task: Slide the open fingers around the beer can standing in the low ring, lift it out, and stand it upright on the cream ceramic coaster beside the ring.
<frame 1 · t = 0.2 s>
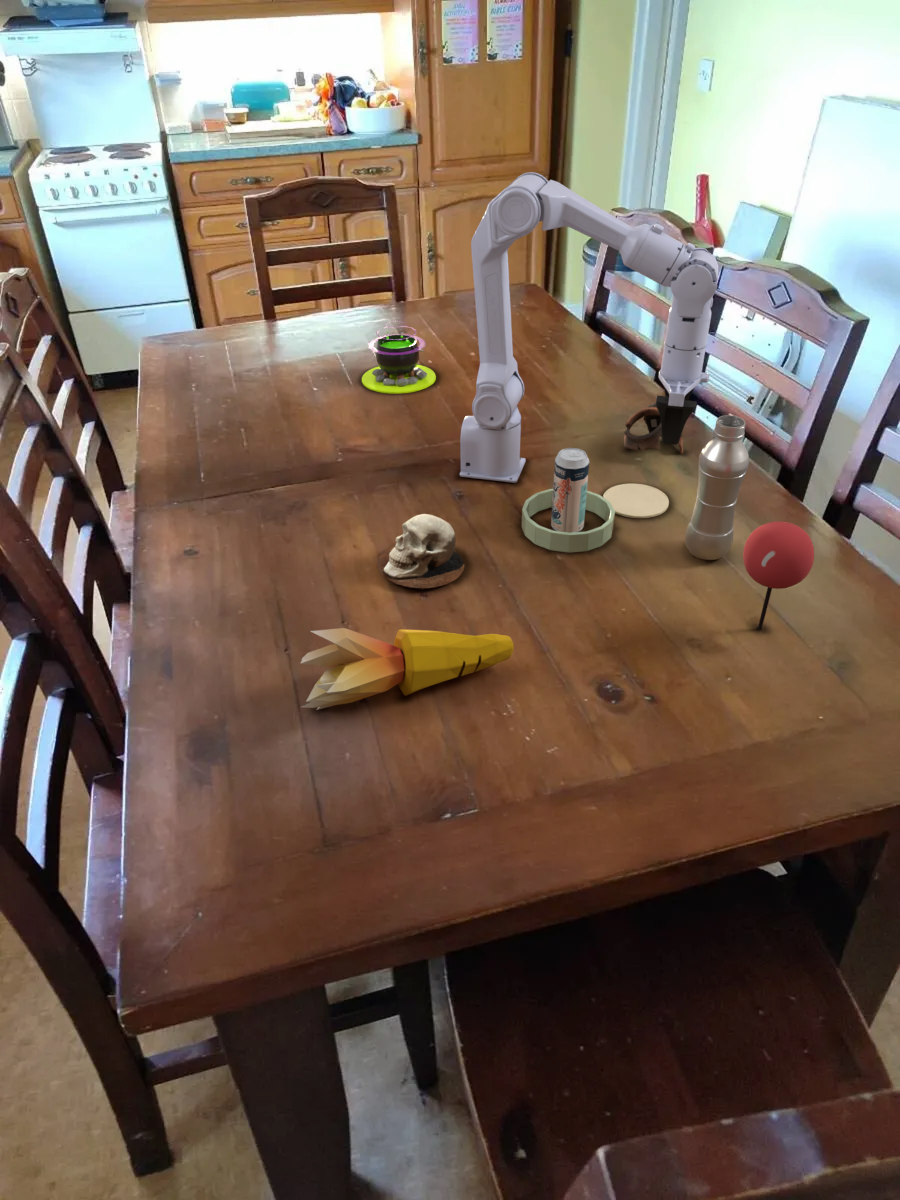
hand: (671, 432, 129), 10 cm above the table, tool pointing down, fingers open, 7 cm apart
skull: (421, 568, 119), on the table
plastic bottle: (705, 554, 120), on the table
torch: (409, 689, 99), on the table
beer can: (567, 528, 127), resting in ring
lollipop: (758, 630, 107), on the table
toy cauldron: (398, 379, 173), on the table
coaster: (635, 501, 132), on the table
ring: (567, 527, 126), on the table
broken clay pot: (652, 448, 147), on the table
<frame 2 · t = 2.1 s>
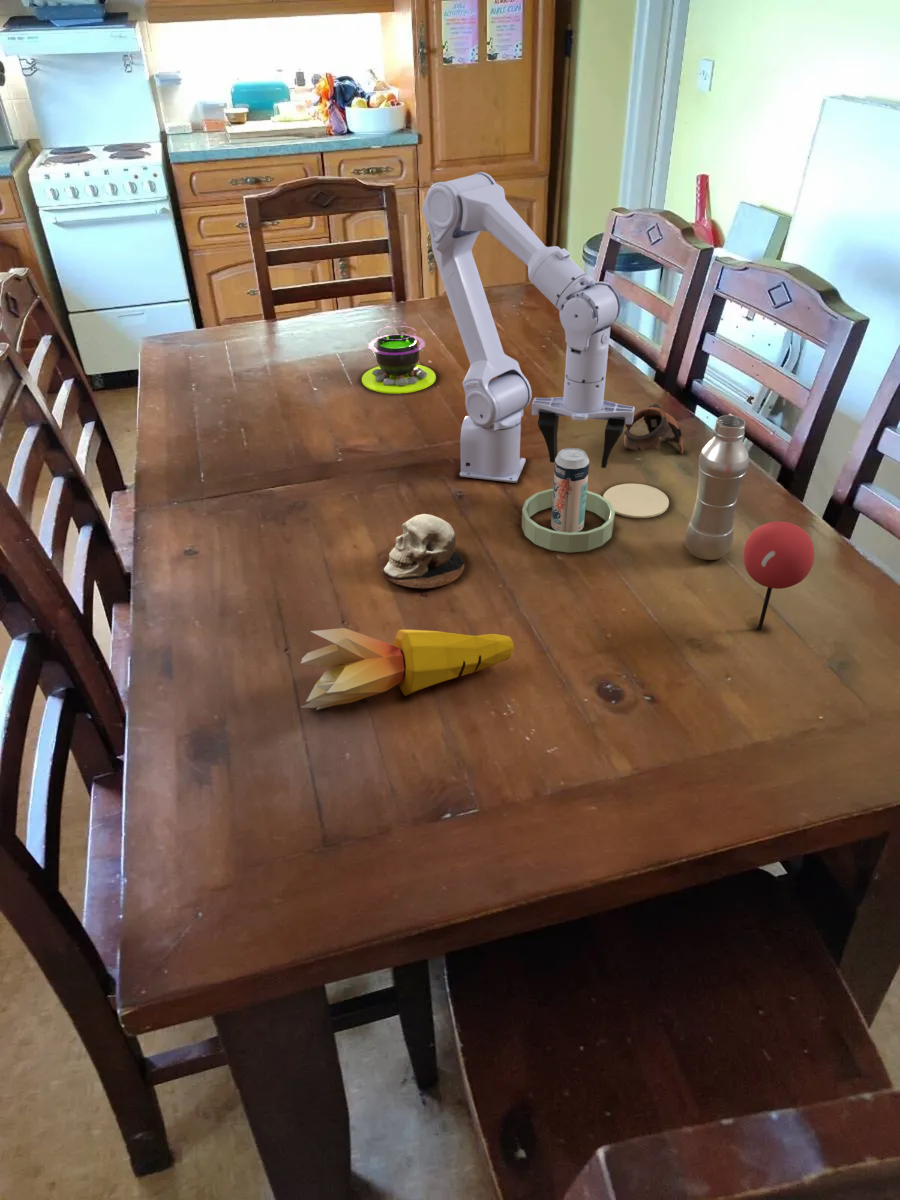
hand: (578, 462, 128), 7 cm above the table, tool pointing down, fingers open, 7 cm apart
nothing on the table moved.
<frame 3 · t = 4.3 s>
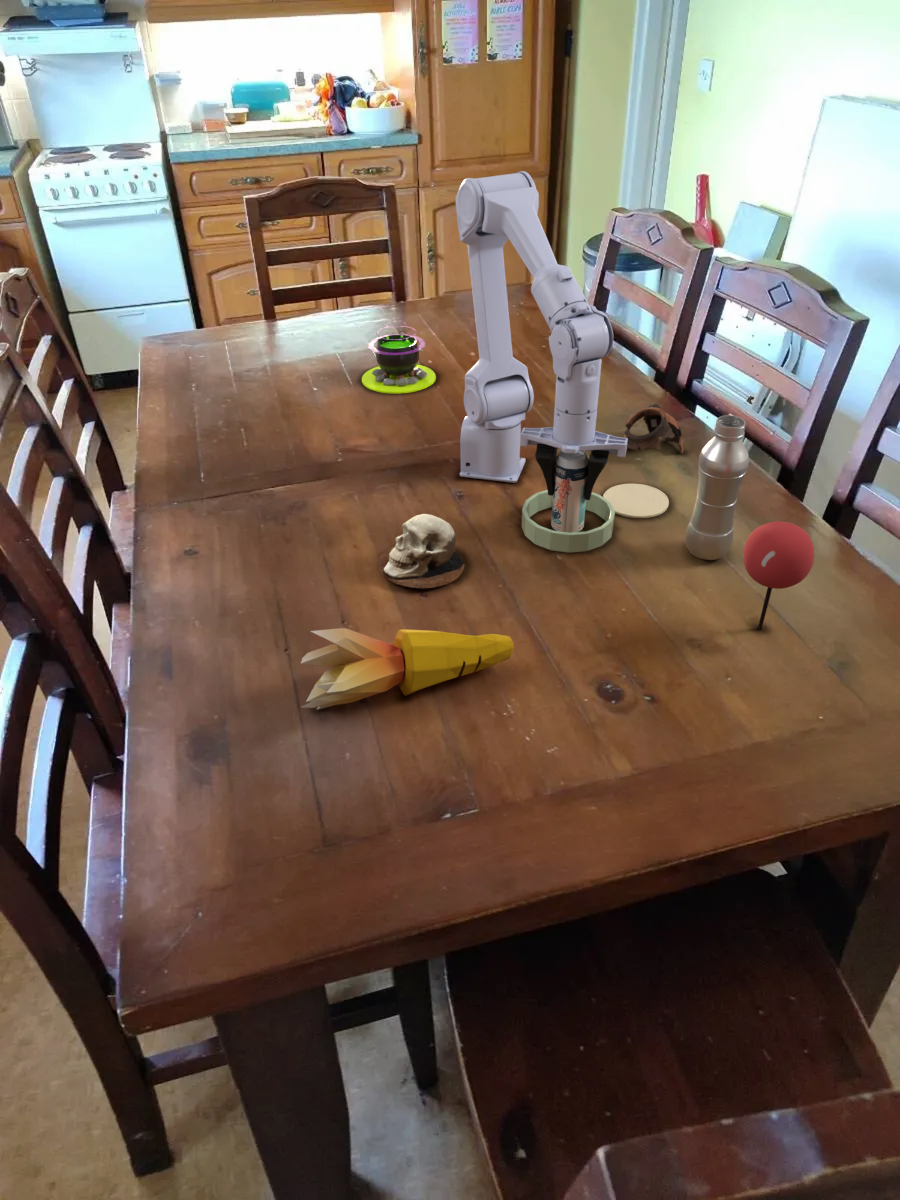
hand: (569, 494, 123), 6 cm above the table, tool pointing down, fingers closed on beer can, 5 cm apart
beer can: (567, 528, 127), resting in ring, touching gripper
everything else where it was.
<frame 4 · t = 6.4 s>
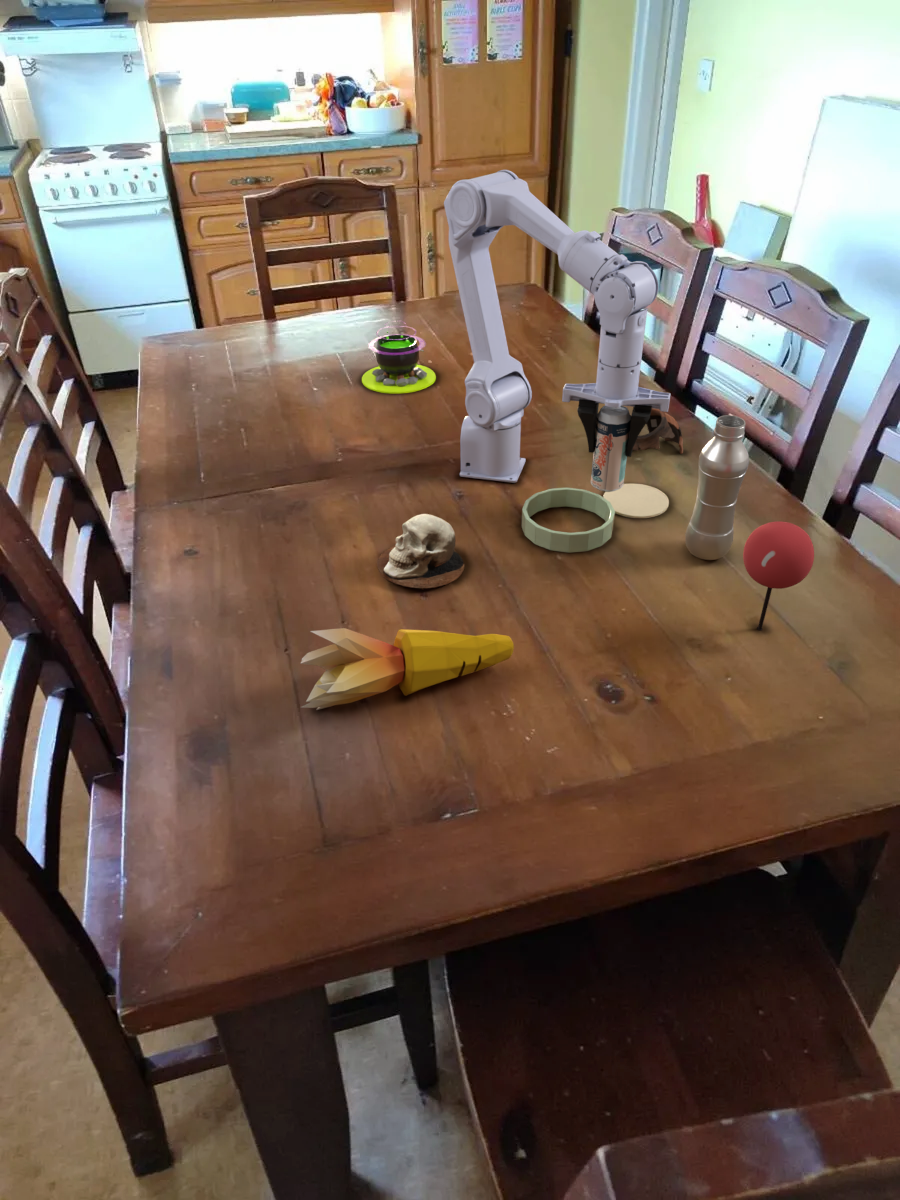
hand: (610, 451, 123), 10 cm above the table, tool pointing down, fingers closed on beer can, 5 cm apart
beer can: (606, 487, 127), point 5 cm above the table, touching gripper
everything else where it was.
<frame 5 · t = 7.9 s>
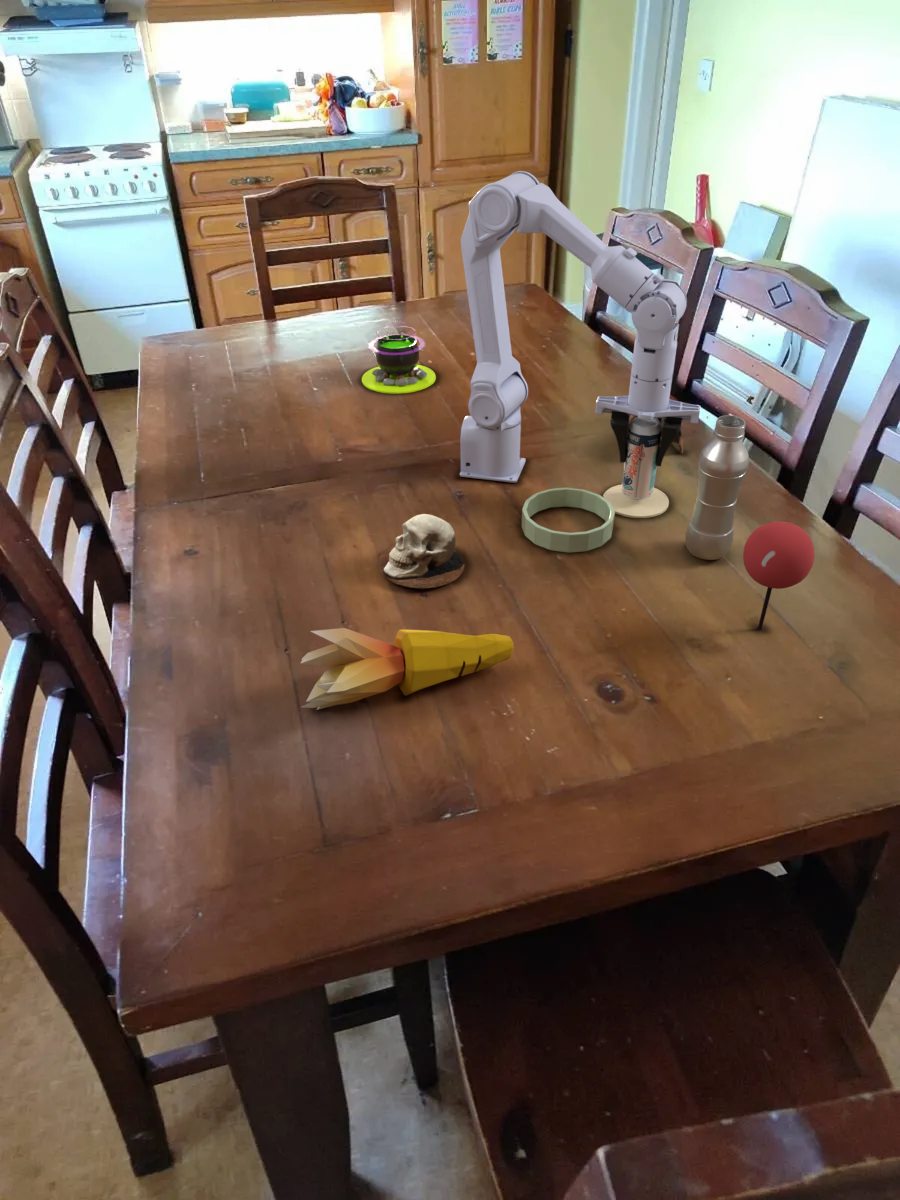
hand: (640, 461, 128), 7 cm above the table, tool pointing down, fingers closed on beer can, 5 cm apart
beer can: (636, 495, 131), point 1 cm above the table, touching gripper
everything else where it was.
when the fingers open (6 cm above the table, at t = 8.7 s): beer can stays where it is, resting on coaster.
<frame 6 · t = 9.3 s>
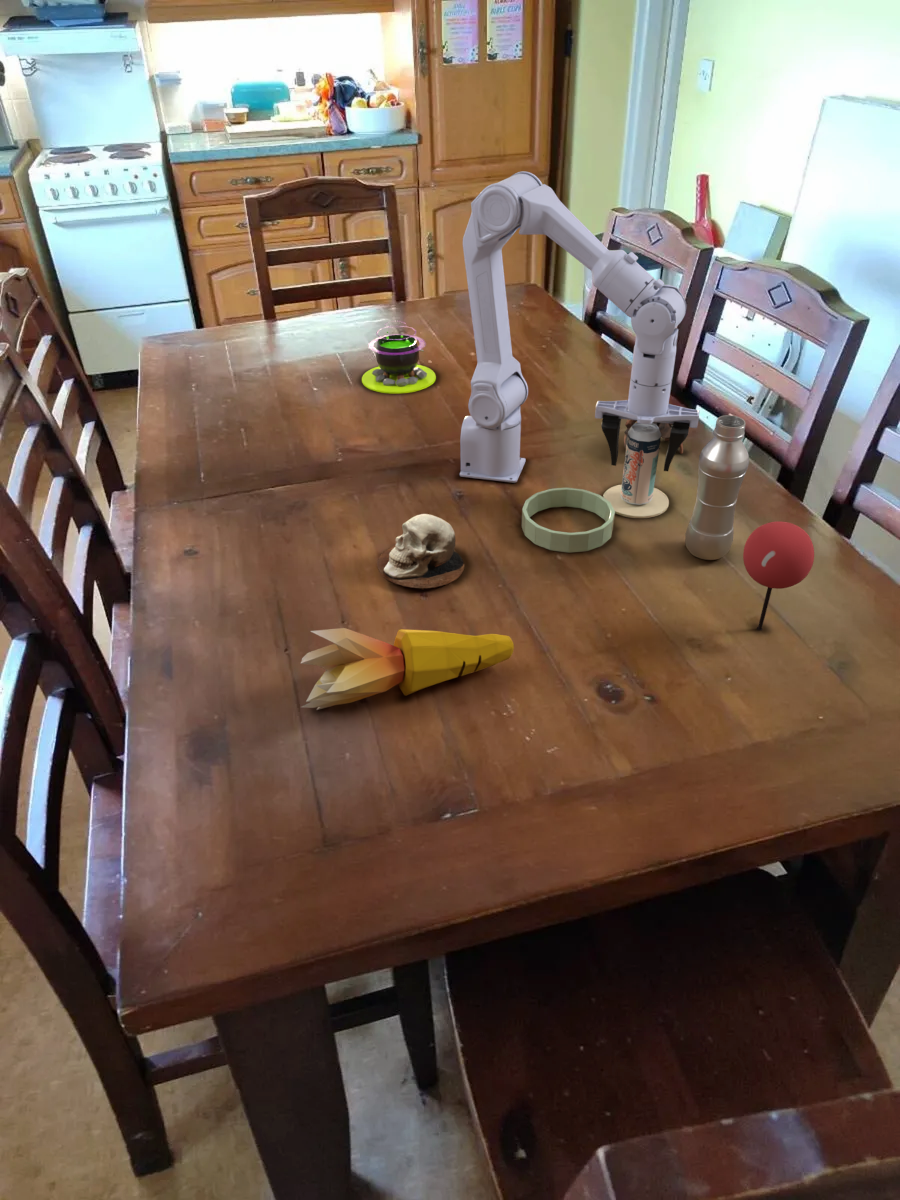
hand: (640, 465, 128), 6 cm above the table, tool pointing down, fingers open, 7 cm apart
beer can: (635, 500, 132), resting on coaster
everything else where it was.
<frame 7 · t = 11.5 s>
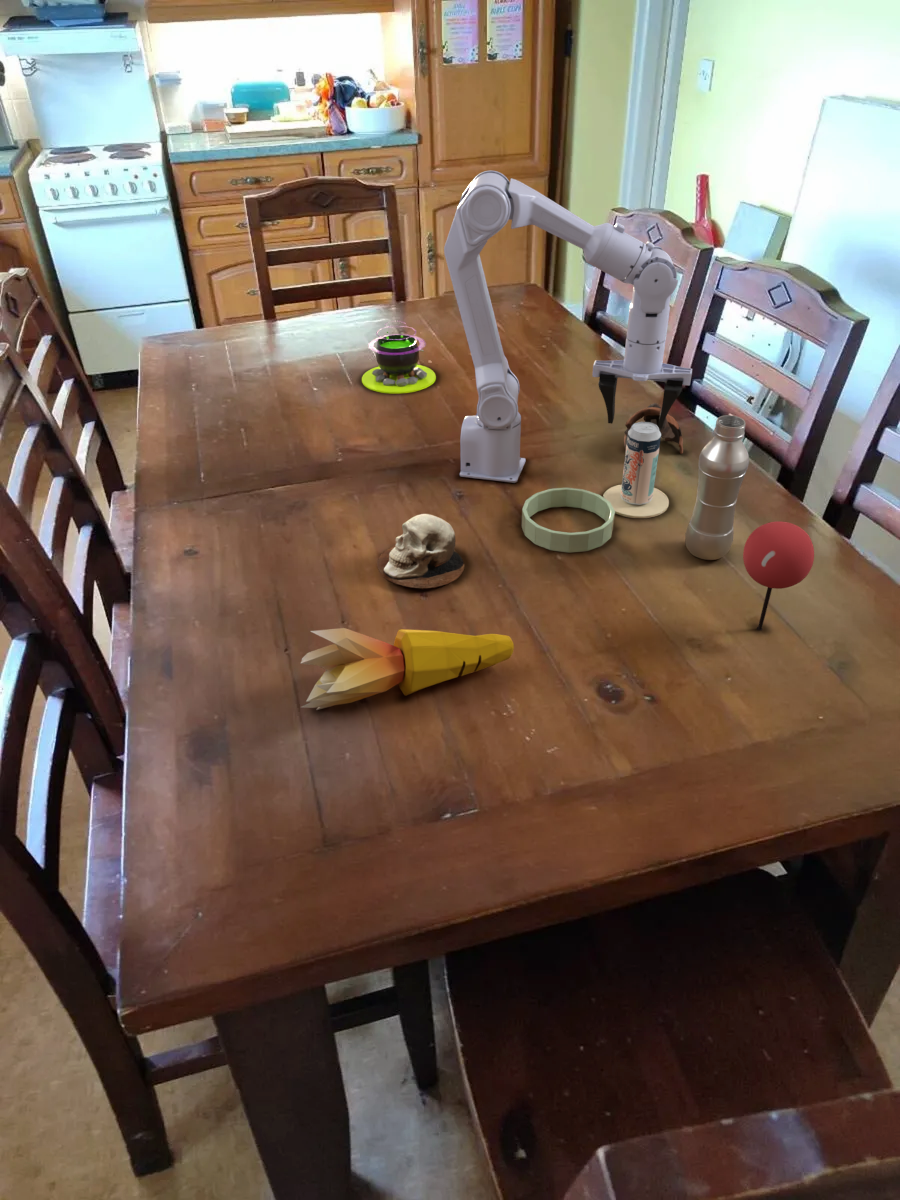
hand: (635, 423, 134), 9 cm above the table, tool pointing down, fingers open, 7 cm apart
nothing on the table moved.
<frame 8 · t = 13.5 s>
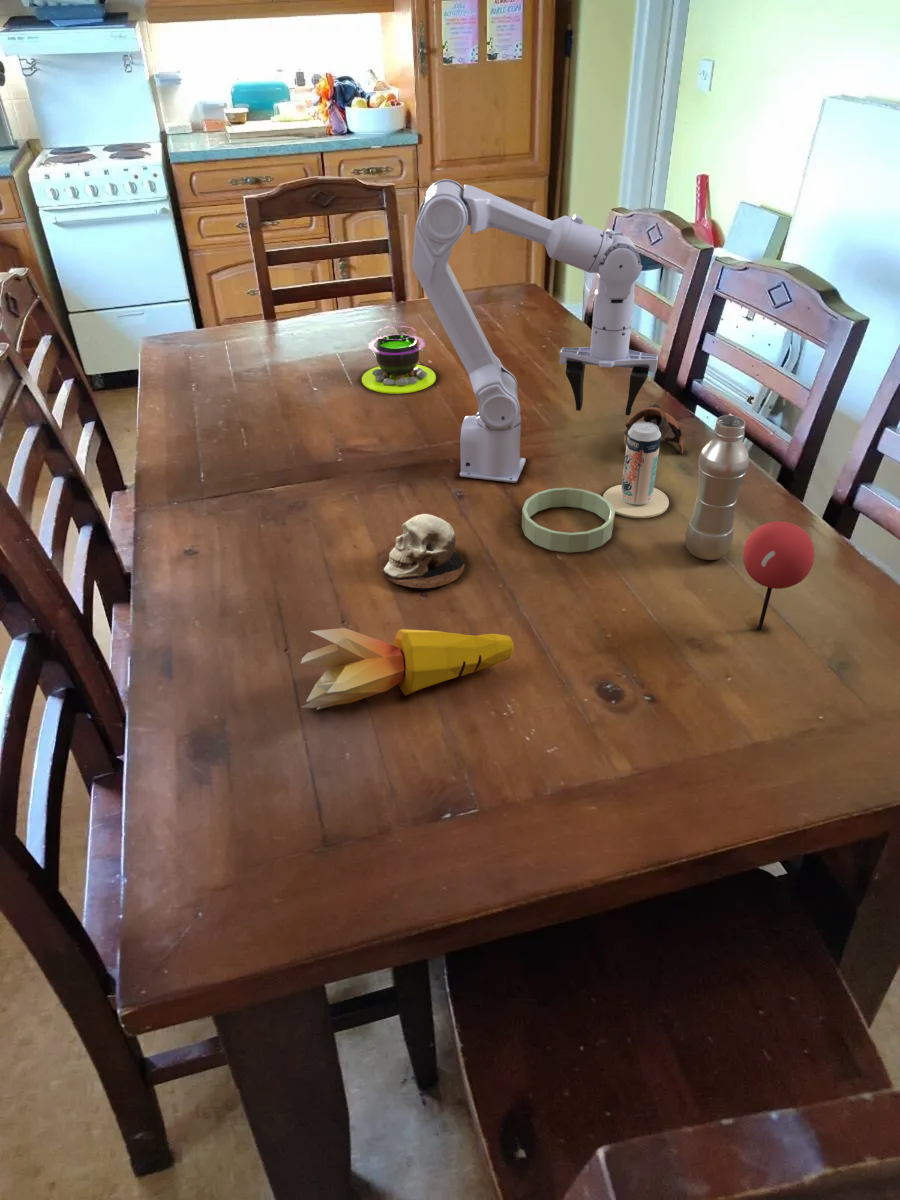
hand: (603, 410, 134), 10 cm above the table, tool pointing down, fingers open, 7 cm apart
nothing on the table moved.
at the end: beer can 0.0 cm off-centre on the coaster, point 0.2 cm above the coaster's base; beer can tilted 0°; the gripper is holding nothing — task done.
